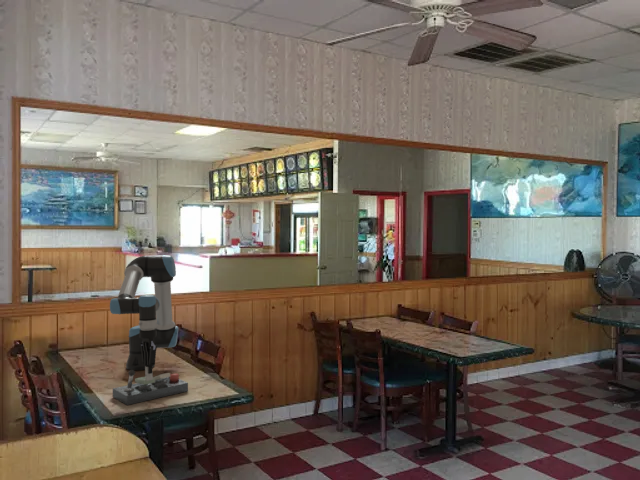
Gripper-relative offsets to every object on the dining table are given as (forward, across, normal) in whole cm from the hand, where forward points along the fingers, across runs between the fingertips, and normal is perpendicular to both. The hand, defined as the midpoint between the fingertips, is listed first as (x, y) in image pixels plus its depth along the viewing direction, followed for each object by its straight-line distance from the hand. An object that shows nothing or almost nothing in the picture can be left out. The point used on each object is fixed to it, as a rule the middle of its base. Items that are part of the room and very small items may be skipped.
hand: (149, 379), depth 257 cm
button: (+4, -5, +15) cm, 16 cm away
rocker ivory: (+1, -5, +8) cm, 9 cm away
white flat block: (+1, -5, 0) cm, 5 cm away
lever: (+3, -5, -7) cm, 9 cm away
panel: (+8, -5, +3) cm, 10 cm away
